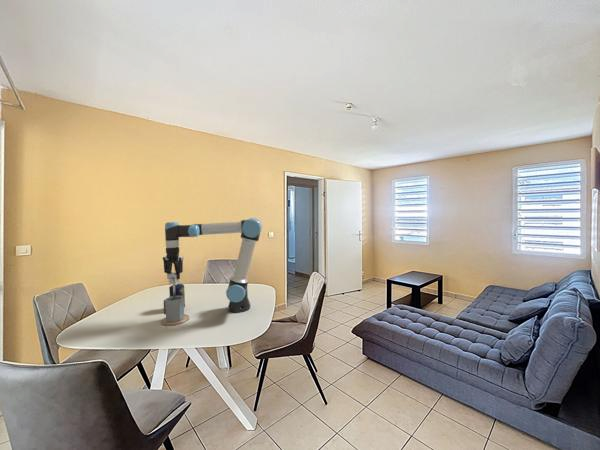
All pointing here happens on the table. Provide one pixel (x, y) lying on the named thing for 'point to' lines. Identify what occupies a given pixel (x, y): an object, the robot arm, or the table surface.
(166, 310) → the press carafe
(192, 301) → the table surface
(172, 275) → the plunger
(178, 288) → the canister
